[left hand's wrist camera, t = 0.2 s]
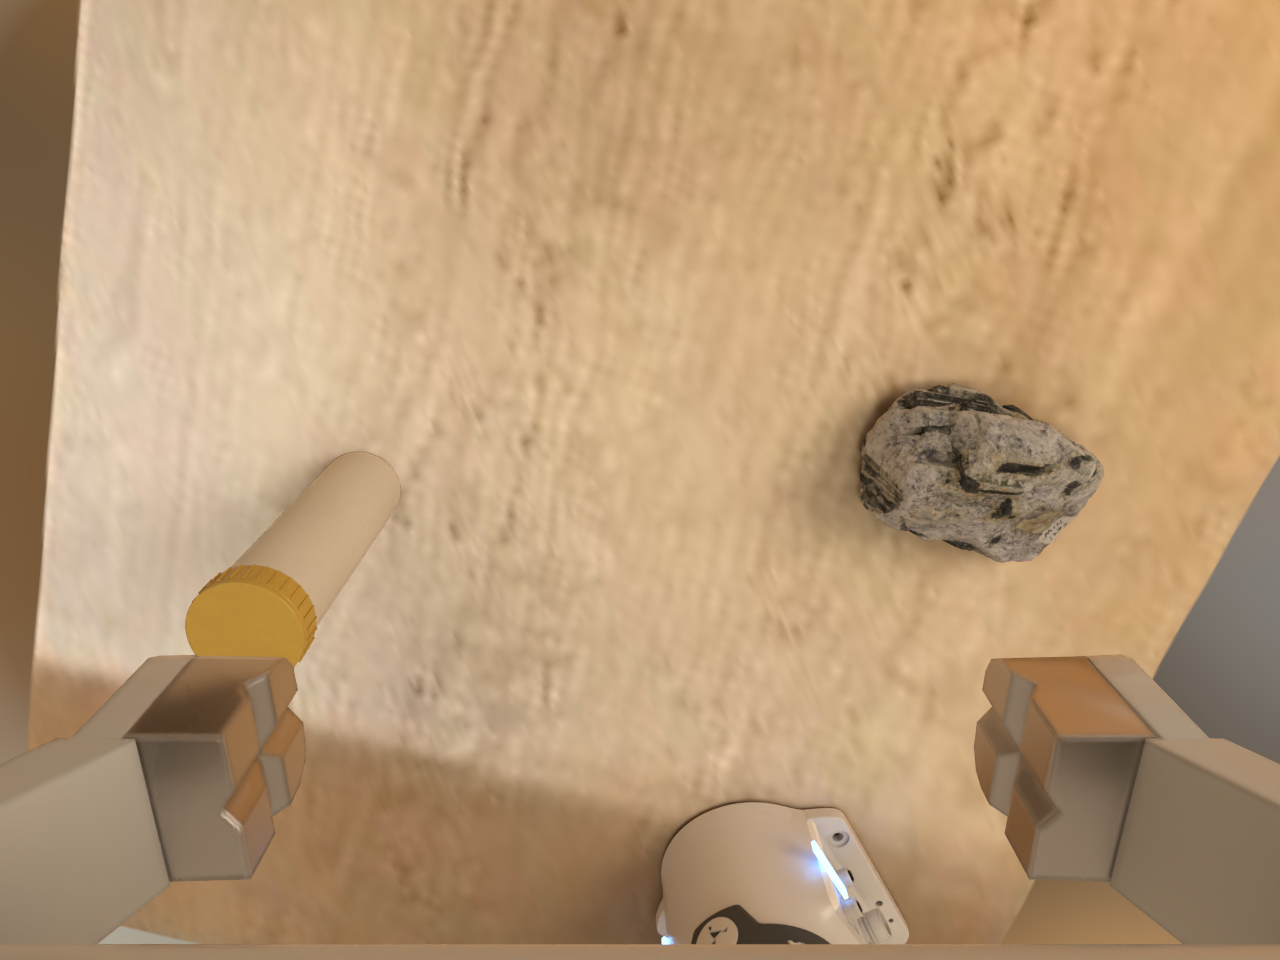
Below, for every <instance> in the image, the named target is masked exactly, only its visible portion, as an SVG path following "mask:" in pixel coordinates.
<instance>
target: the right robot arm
mask: <svg viewBox="0 0 1280 960" xmlns="http://www.w3.org/2000/svg"><path fill="white" fill-rule="evenodd" d="M836 833H840V834H838V835H834V834H836ZM661 881H662V888H663V898H662V900H661V902H660V905H659V907H658V910H657V913H656V917H655V921H656V927H657V931H658V933H659V934H660V935H661V936H662V937H663V938H662V944H905V943H906V941H907V940H908V937H909V932H908V927H907V924H906V921H905V919H904V918H903V916H902V914H901V912H900V911H899V909H898V907H897V905H896V904H895V902H894V900H893V898H892V897H891V895H890V893H889V891H888V890H887V888H886V886H885V884H884V883H883V881H882V879H881V877H880V876H879V874H878V872H877V870H876V869H875V867H874V865H873V863H872V862H871V860H870V858H869V856H868V855H867V853H866V851H865V849H864V848H863V846H862V844H861V843H860V841H859V839H858V837H857V836H856V834H855V832H854V830H853V829H852V827H851V825H850V823H849V822H848V820H847V818H846V816H845V815H844V814H843V812H841V811H840V810H838V809H835V808H814V809H805V810H801V809H794V808H789V807H785V806H781V805H777V804H772V803H764V802H744V803H735V804H730V805H726V806H722V807H719V808H716V809H713V810H710V811H708V812H706V813H704V814H702V815H700V816H698V817H697V818H695V819H694V820H692V821H691V822H689V823H688V824H687V825H685V826H684V827H683V828H682V829H681V830H680V831H679V832H678V833H677V834H676V836H675V837H674V838H673V839H672V841H671V842H670V844H669V846H668V847H667V850H666V852H665V854H664V857H663V861H662V866H661Z"/></svg>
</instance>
